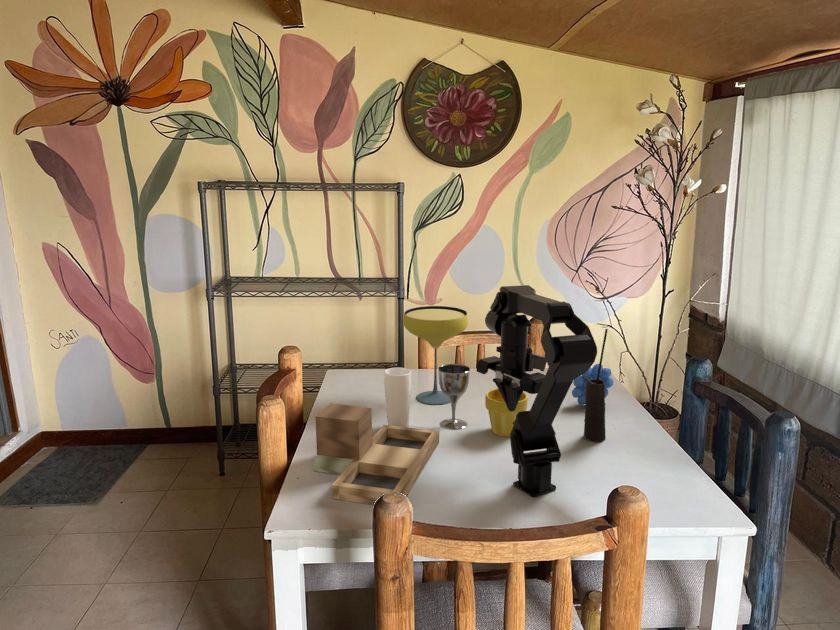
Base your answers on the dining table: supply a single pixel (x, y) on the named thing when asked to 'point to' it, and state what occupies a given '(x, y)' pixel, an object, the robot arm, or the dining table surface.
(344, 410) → the walnut block
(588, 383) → the butter churn
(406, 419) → the drinking glass
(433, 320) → the cocktail glass
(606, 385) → the grapes
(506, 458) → the dining table surface
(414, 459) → the tray
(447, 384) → the wine glass
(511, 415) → the plant pot
